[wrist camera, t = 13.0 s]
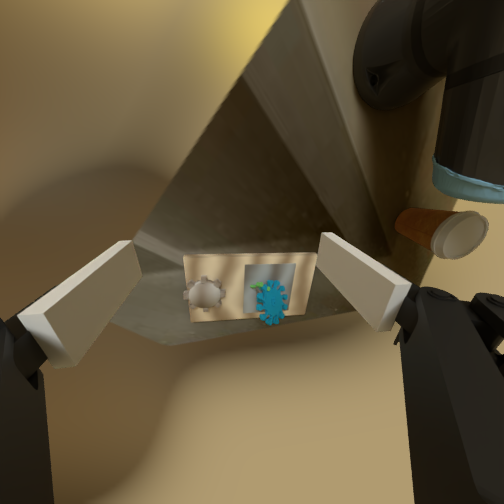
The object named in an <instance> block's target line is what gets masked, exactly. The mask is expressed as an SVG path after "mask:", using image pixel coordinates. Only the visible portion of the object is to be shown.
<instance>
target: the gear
mask: <svg viewBox="0 0 504 504" xmlns="http://www.w3.org/2000/svg"><path fill="white" fill-rule="evenodd" d="M273 283H274V285H273ZM267 284H268V286H267ZM267 284H263V282H257V283H256V285H250V287H251V288H256V289H257V291H258V294H257V296H256V298H257V302H260V303H263V306H262V305H261V304H257V305H256V310H259V311H261V310H263V309H264V310H265V314H260V315H259V317H260V319H261V320H263V321H264V320H265V319H266V317H267V316H268V315H269V318H268V319H266V321H265V322H266V324H268V325H272V320H273V323H274V324H279V319H278V315H279V318H280V319H283V318H284V317H285V314H284V313H283V311H282V309H283V310H287V307H288V305H287V304H284V302H283V301H282V299H283V300H287V299H288V295H287V294H283V295H281V293H280V292H281V291H285V287H284V286H280V287H279V289H278V290H277V286H279V285H280V282H279V281H278V280H275V281H273V280H267ZM272 285H273V287H272ZM273 317H274V319H273Z"/></svg>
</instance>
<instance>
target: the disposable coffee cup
mask: <svg viewBox="0 0 504 504" xmlns="http://www.w3.org/2000/svg"><path fill="white" fill-rule="evenodd" d="M488 226H489V223H488V220H487V219H486V218H485V217H484V216H481V215H480V214H479V213H478V212H475V211H465V212H455V211H444V210H433V209H421V208H408V209H406V210H404V211H403V212H402V213H401V214H400V215H399V216H398V217H397V219H396V222H395V229H396V231H397V232H398V233H400V234H402V235H404V236H406V237H407V238H409V239H411V240H413V241H415V242H416V243H418V244H420V245H422V246H423V247H425V248H427V249H429V250H431V251H432V252H433V253H434V254H435V255H436V256H437V257H439V258H443V259H459V258H462V257H464V256H466V255H468V254H470V253H471V252H472V251H473V250H475V249H476V248H477V247H478V246H479V245H480V243H481V242H482V241H483V240H484V238H485V236H486V234H487V231H488Z"/></svg>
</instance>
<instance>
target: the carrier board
mask: <svg viewBox="0 0 504 504" xmlns="http://www.w3.org/2000/svg"><path fill="white" fill-rule="evenodd" d="M317 256H318V255H317V254H316V253H315V252H312V253H252V254H193V255H184V257H183V260H184V268H185V277H186V285H187V291H184V294H183V298H184V299H188V302H189V311H190V319H191V322H202V321H216V320H231V319H245V318H260V317H259V315H260V314H265V310H264V309H263V310H261V311H259V310H256V305H257V304H261V305H262V306H263V303H260V302H257V298H256V296H257V294H258V291H257V289H256V288H251V287H250V285H256V283H257V282H263V284H267V280H273V281H275V280H278V281H279V282H280V285H279V286H277V290H278V289H279V287H280V286H284V287H285V291H281V292H280V293H281V295H283V294H287V295H288V299H287V300H283V299H282V301H283V302H284V304H287V305H288V307H287V310H283V309H282V311H283V313H284V314H285V316H288V315H303V314H305V310H306V306H307V301H308V297H309V292H310V288H311V283H312V278H313V274H314V269H315V265H316V260H317ZM273 285H274V283H273ZM273 285H272V287H273ZM267 286H268V284H267ZM278 316H279V315H278ZM267 317H269V315H268V316H267Z"/></svg>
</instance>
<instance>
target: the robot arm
mask: <svg viewBox="0 0 504 504" xmlns="http://www.w3.org/2000/svg"><path fill="white" fill-rule="evenodd" d="M353 69H354V78H355V83H356V86H357V89H358V91H359V93H360V95H361V97H362V98H363V100H364V101H365V102H366V103H367V104H368V105H370V106H371V107H373V108H376V109H379V110H390V109H394V108H397V107H400V106H403V105H405V104H408V103H410V102H412V101H413V100H415V99H417V98H418V97H419V96H421V95H422V94H423V93H424V92H426V91H427V90H428V89H430V88H431V87H433V86H434V85H435V84H437V83H438V82H439V81H441V80H442V79H443V78H445V77H446V83H445V89H444V94H443V101H442V108H441V115H440V122H439V128H438V135H437V141H436V147H435V153H434V154H433V156H432V161H433V176H432V181H433V184H434V186H435V187H436V188H437V189H438V190H439V191H441V192H442V193H444V194H446V195H448V196H451V197H454V198H458V199H463V200H468V201H474V202H482V203H494V204H504V0H378V1H377V2H376V3H375V5H374V6H373V7H372V9H371V10H370V12H369V13H368V15H367V17H366V18H365V20H364V22H363V25H362V27H361V29H360V32H359V35H358V38H357V42H356V46H355V51H354V61H353ZM316 266H317V267H318V268H319V269H320V270H321V271H322V273H323V274H324V275H325V276H326V277H327V278H328V279H329V280H330V281H331V282H332V284H333V285H334V286H335V287H336V288H337V289H338V290H339V291H340V292H341V294H342V295H343V296H344V297H345V298H346V299H347V300H348V301H349V302H350V303H351V305H352V306H353V307H354V308H355V309H356V310H357V311H358V312H359V313H360V314H361V315H362V317H363V318H364V319H365V320H366V321H367V322H368V323H369V324H370V326H371V327H372V328H373V329H374V330H375V331H376V332H383V331H391V329H392V327H393V325H394V322H395V321H396V322H397V323H398V324H399V325H400V326H401V328H400V330H399V333H398V335H397V337H396V339H395V341H394V345H397V343H398V342H400V351H401V362H402V372H403V383H404V394H405V405H406V415H407V426H408V437H409V448H410V459H411V470H412V480H413V492H414V502H415V504H504V354H503V355H502V354H500V353H499V352H498V351H497V350H496V348H497V347H498V346H499V344H500V343H501V342H502V341H503V340H504V297H502V296H501V297H500V296H499V295H495V294H489V293H477V294H476V295H475V296H474V298H473V299H472V301H471V302H468V301H460V300H458V299H457V298H456V297H455V296H454V295H452V294H450V293H448V292H446V291H443V290H440V289H437V288H433V287H421V288H420V287H418V286H417V285H415V284H414V283H412V282H410V281H409V280H407V279H406V278H404V277H403V276H401V275H398V273H396V272H395V271H393V270H391V269H390V268H388V267H387V266H385V265H383V264H381V263H379V262H377V261H376V260H374V259H372V258H371V257H369V256H368V255H366V254H365V253H363V252H361V251H360V250H358V249H357V248H355V247H354V246H352V245H350V244H349V243H347V242H346V241H344V240H343V239H341V238H339V237H338V236H336V235H335V234H333V233H332V232H328V233H322V234H321V239H320V245H319V251H318V257H317V262H316ZM141 278H142V273H141V269H140V266H139V262H138V259H137V255H136V252H135V248H134V245H133V241H132V240H130V241H119V242H117V243H116V244H115V245H113V246H112V247H110V248H109V249H108V250H106V251H105V252H104V253H102V254H101V255H100V256H98V257H97V258H95V259H94V260H93V261H91V262H90V263H89V264H87V265H86V266H84V267H83V268H82V269H80V270H79V271H78V272H76V273H75V274H73V275H72V276H71V277H69V278H68V279H66V280H65V281H64V282H63V283H61V284H59V285H57V286H55V287H53V288H51V289H50V290H49V291H47V292H46V293H45V294H43V296H40V297H39V298H37V299H36V300H35V302H32V303H31V304H29V305H28V306H26V307H25V308H23V309H22V310H21V311H19V312H18V313H16V314H15V315H14V316H12V317H11V318H10V319H8V320H7V321H5V322H3V320H2V319H1V318H0V504H54V496H53V484H52V474H51V473H52V472H51V461H50V449H49V437H48V425H47V414H46V402H45V390H44V378H43V374H42V372H41V370H40V369H39V367H40V366H41V365H42V364H43V363H44V362H45V361H46V360H47V359H48V360H49V362H50V363H51V365H52V366H53V367H54V369H57V368H66V367H75V366H77V364H78V363H79V362H80V360H81V359H82V358H83V356H84V355H85V354H86V352H87V351H88V349H89V348H90V347H91V345H92V344H93V342H94V341H95V340H96V339H97V337H98V336H99V335H100V333H101V332H102V330H103V329H104V328H105V326H106V325H107V324H108V322H109V321H110V320H111V318H112V317H113V316H114V314H115V313H116V311H117V310H118V309H119V307H120V306H121V305H122V303H123V302H124V301H125V299H126V298H127V297H128V295H129V294H130V292H131V291H132V290H133V288H134V287H135V286H136V284H137V283H138V282H139V280H140V279H141Z"/></svg>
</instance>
